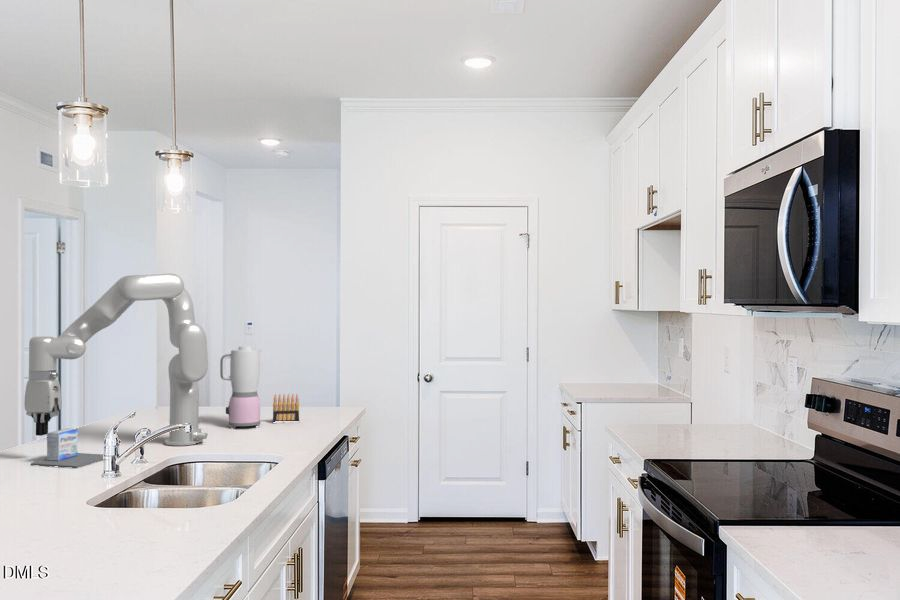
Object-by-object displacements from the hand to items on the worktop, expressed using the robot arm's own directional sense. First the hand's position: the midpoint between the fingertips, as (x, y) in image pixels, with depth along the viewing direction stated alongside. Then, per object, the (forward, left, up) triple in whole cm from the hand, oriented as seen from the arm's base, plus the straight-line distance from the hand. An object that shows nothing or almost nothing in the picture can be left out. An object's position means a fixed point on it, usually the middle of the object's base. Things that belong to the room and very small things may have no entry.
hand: (41, 434), depth 218 cm
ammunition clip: (-43, -82, -8) cm, 93 cm away
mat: (-11, 0, -8) cm, 14 cm away
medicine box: (-7, 0, -7) cm, 10 cm away
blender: (-30, -68, -8) cm, 75 cm away
